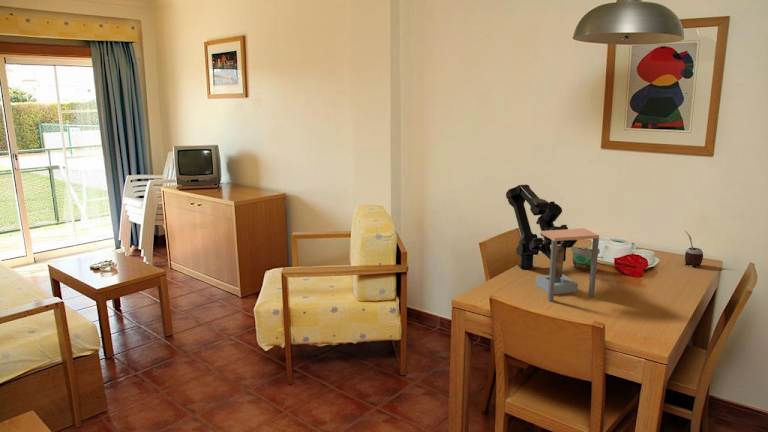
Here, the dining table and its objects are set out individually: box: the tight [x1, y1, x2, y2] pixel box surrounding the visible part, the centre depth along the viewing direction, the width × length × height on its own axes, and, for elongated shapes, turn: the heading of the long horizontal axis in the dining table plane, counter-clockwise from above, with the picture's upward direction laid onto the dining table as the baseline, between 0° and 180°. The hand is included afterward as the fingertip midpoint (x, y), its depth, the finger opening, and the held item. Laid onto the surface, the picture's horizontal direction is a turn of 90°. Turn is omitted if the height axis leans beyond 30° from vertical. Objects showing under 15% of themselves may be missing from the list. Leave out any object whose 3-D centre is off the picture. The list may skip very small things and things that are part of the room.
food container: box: [570, 245, 601, 272], centre depth 237 cm, size 12×6×10 cm, turn 62°
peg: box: [555, 245, 564, 278], centre depth 214 cm, size 4×4×12 cm
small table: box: [535, 228, 600, 302], centre depth 210 cm, size 19×18×25 cm
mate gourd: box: [684, 230, 704, 268], centre depth 240 cm, size 8×8×15 cm
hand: (559, 261), depth 212 cm, fingers closed on peg, 4 cm apart
